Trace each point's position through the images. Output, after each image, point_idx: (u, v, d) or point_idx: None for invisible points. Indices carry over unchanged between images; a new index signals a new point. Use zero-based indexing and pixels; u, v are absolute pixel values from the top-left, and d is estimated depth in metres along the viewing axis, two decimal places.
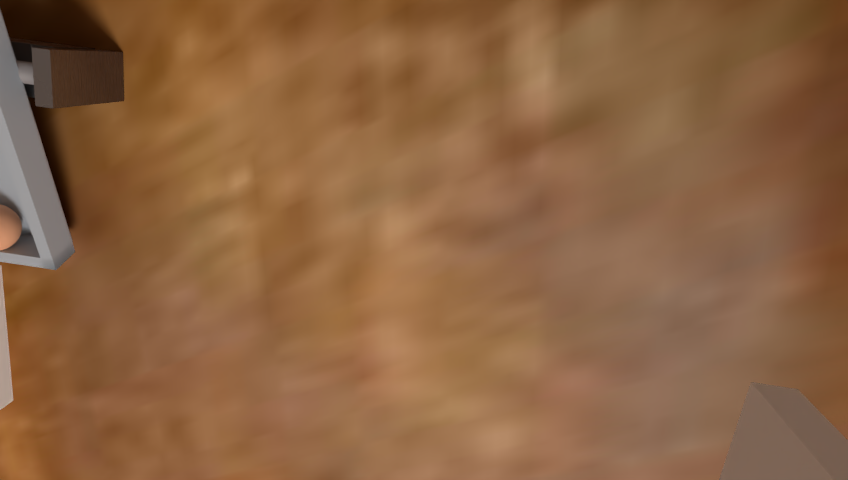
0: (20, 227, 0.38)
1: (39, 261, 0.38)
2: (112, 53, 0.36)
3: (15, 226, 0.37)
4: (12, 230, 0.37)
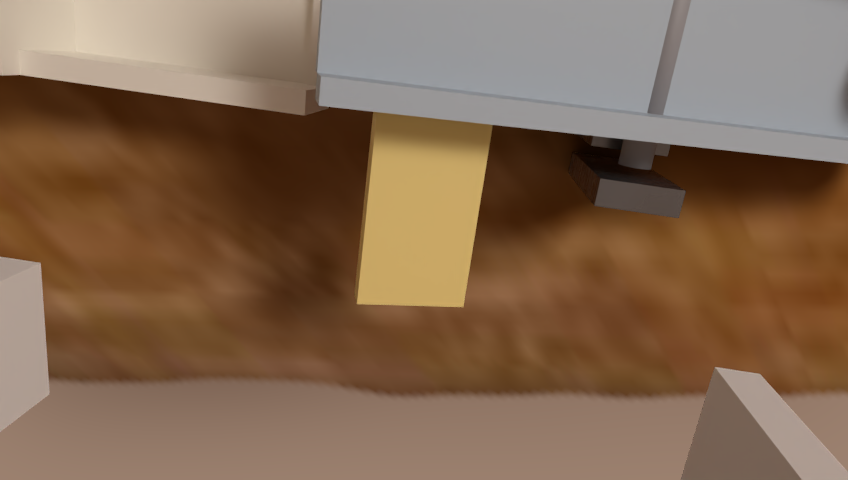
0: None
1: None
2: None
3: None
4: None
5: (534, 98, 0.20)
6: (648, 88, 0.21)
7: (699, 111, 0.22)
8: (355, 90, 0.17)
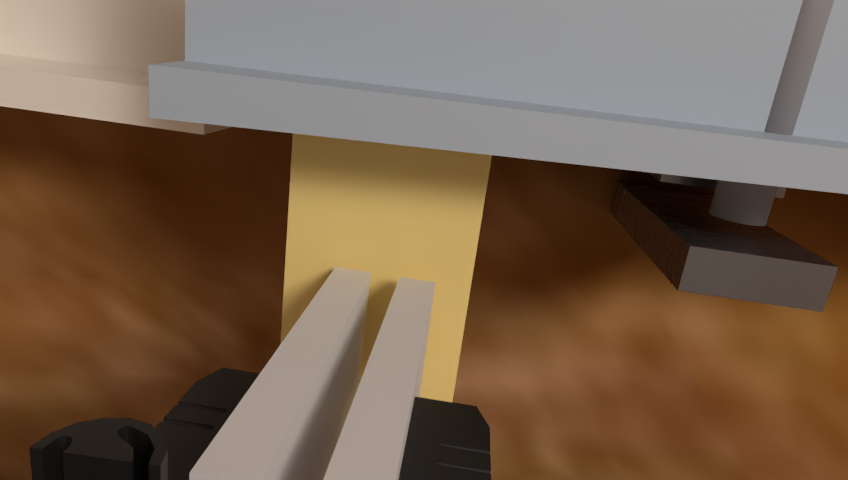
0: None
1: None
2: None
3: None
4: None
5: (564, 106, 0.12)
6: (768, 89, 0.12)
7: None
8: (215, 90, 0.09)
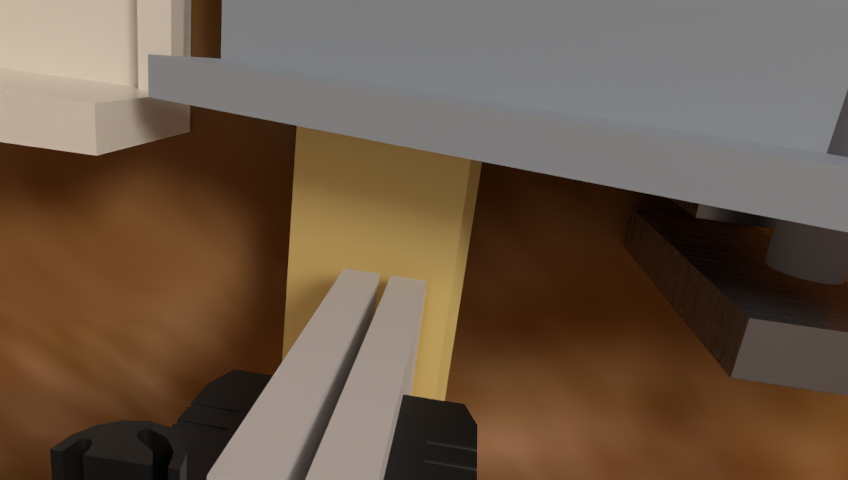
0: None
1: None
2: None
3: None
4: None
5: (545, 108, 0.11)
6: (830, 95, 0.09)
7: None
8: (188, 75, 0.11)
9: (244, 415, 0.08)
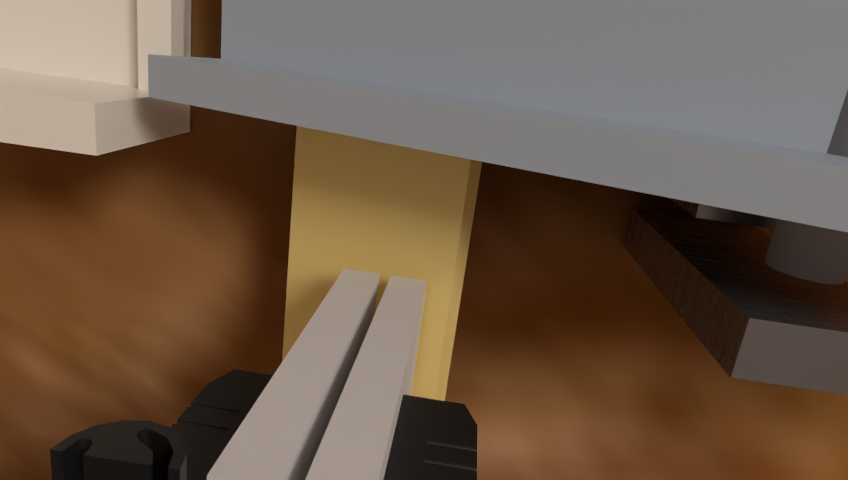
0: None
1: None
2: None
3: None
4: None
5: (545, 108, 0.11)
6: (830, 95, 0.09)
7: None
8: (188, 75, 0.11)
9: (244, 415, 0.08)
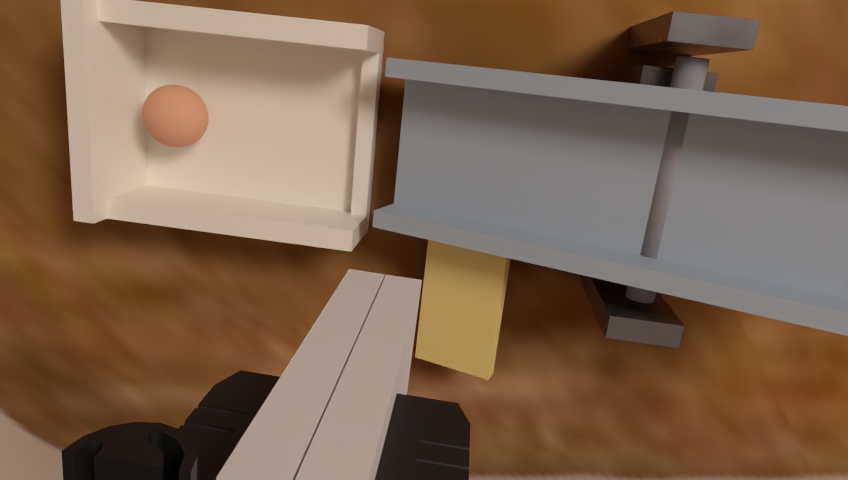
0: (165, 85, 0.29)
1: None
2: (639, 24, 0.26)
3: (170, 85, 0.28)
4: (178, 85, 0.29)
5: (537, 233, 0.27)
6: (639, 235, 0.25)
7: (696, 259, 0.24)
8: (392, 220, 0.27)
9: (251, 416, 0.08)
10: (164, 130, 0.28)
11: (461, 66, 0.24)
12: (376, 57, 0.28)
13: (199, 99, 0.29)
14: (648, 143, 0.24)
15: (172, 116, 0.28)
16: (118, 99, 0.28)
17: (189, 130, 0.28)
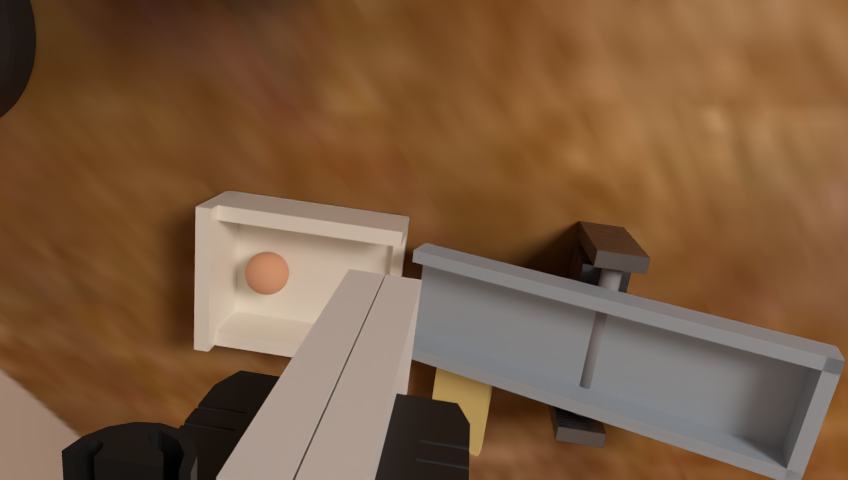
0: (260, 253, 0.41)
1: (828, 375, 0.30)
2: (583, 225, 0.39)
3: (265, 254, 0.41)
4: (271, 254, 0.41)
5: (512, 365, 0.39)
6: (578, 373, 0.38)
7: (614, 392, 0.37)
8: (414, 352, 0.40)
9: (251, 416, 0.08)
10: (266, 288, 0.40)
11: (464, 263, 0.37)
12: (404, 236, 0.41)
13: (284, 261, 0.41)
14: (584, 317, 0.37)
15: (273, 279, 0.40)
16: (224, 263, 0.41)
17: (282, 285, 0.41)
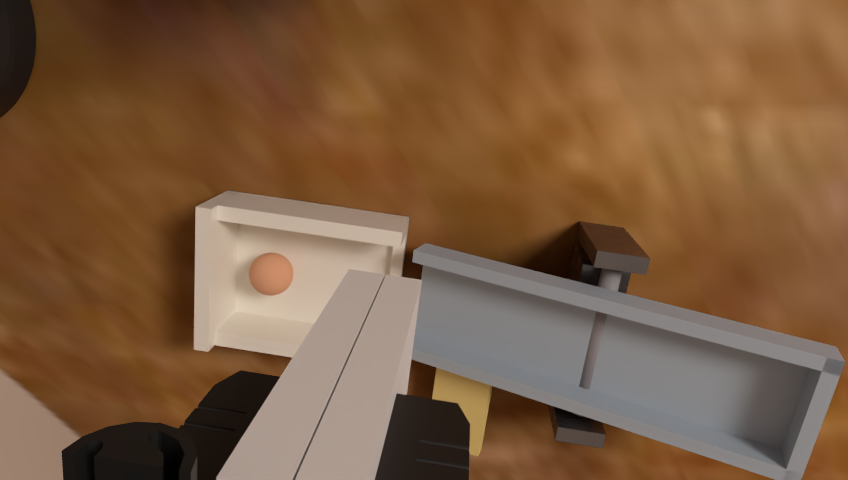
0: (264, 254, 0.41)
1: (828, 375, 0.30)
2: (583, 225, 0.39)
3: (271, 255, 0.41)
4: (275, 254, 0.41)
5: (512, 365, 0.39)
6: (578, 373, 0.38)
7: (613, 392, 0.37)
8: (414, 353, 0.40)
9: (251, 416, 0.08)
10: (275, 289, 0.40)
11: (463, 264, 0.37)
12: (404, 237, 0.41)
13: (288, 261, 0.42)
14: (584, 318, 0.37)
15: (282, 279, 0.40)
16: (223, 263, 0.41)
17: (288, 284, 0.41)
